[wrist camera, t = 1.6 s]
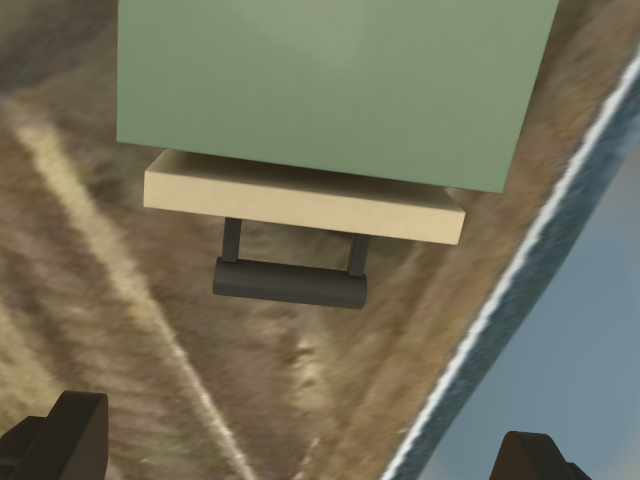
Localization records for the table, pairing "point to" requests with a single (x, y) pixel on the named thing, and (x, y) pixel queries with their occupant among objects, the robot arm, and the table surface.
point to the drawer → (298, 219)
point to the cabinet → (335, 83)
